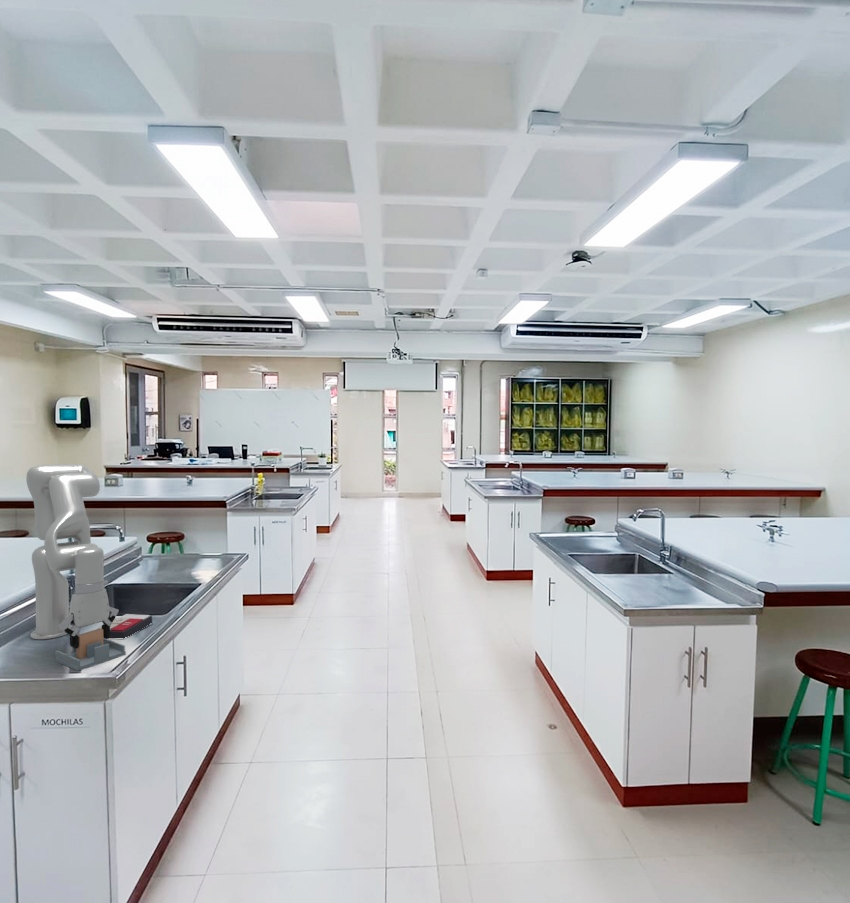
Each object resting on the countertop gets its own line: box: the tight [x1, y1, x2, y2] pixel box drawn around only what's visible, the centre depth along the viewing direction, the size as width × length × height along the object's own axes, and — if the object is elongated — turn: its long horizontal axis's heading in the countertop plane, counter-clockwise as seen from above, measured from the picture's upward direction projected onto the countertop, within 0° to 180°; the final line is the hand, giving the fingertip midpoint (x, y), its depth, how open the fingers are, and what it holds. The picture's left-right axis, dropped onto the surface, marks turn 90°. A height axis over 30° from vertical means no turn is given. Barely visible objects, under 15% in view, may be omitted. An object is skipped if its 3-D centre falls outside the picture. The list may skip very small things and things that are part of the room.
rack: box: [54, 638, 127, 672], centre depth 162 cm, size 14×14×5 cm
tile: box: [76, 627, 103, 659], centre depth 162 cm, size 2×7×7 cm, turn 149°
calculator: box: [97, 613, 153, 638], centre depth 186 cm, size 11×4×15 cm
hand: (90, 642), depth 162 cm, fingers open, 8 cm apart
